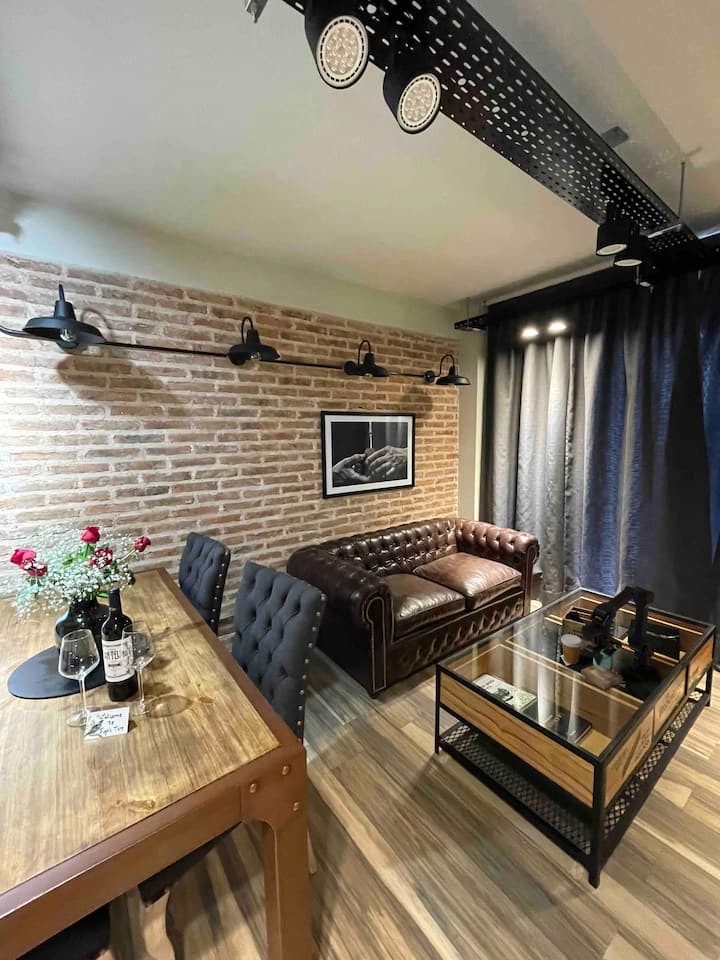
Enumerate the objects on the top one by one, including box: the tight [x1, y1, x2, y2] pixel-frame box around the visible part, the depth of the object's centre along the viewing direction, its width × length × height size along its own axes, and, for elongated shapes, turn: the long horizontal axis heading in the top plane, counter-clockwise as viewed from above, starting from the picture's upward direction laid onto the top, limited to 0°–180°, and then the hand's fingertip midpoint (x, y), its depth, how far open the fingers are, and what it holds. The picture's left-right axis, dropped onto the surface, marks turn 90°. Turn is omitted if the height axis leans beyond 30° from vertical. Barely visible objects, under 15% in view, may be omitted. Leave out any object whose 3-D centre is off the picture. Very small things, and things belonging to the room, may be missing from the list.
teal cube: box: [592, 651, 612, 670], centre depth 188 cm, size 5×5×5 cm
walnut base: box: [580, 664, 624, 691], centre depth 189 cm, size 12×12×2 cm
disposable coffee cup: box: [560, 633, 583, 665], centre depth 203 cm, size 10×10×12 cm
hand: (602, 663), depth 188 cm, fingers closed on teal cube, 5 cm apart
